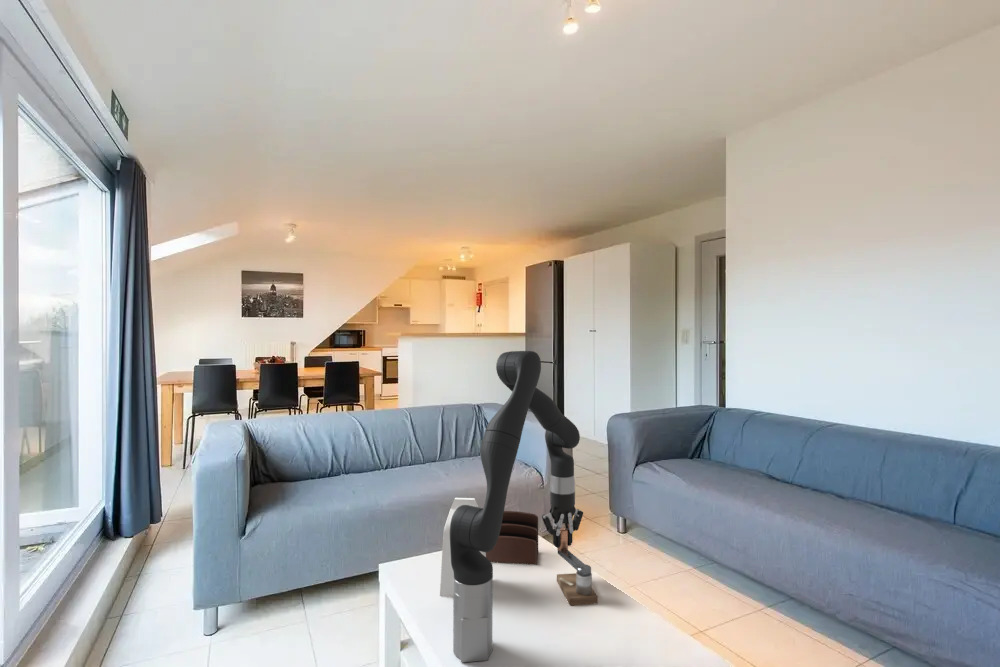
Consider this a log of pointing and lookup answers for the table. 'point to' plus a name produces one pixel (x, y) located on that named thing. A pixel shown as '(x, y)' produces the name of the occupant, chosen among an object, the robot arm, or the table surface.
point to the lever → (571, 555)
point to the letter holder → (516, 539)
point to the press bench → (572, 593)
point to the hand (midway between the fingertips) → (562, 545)
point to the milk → (446, 567)
